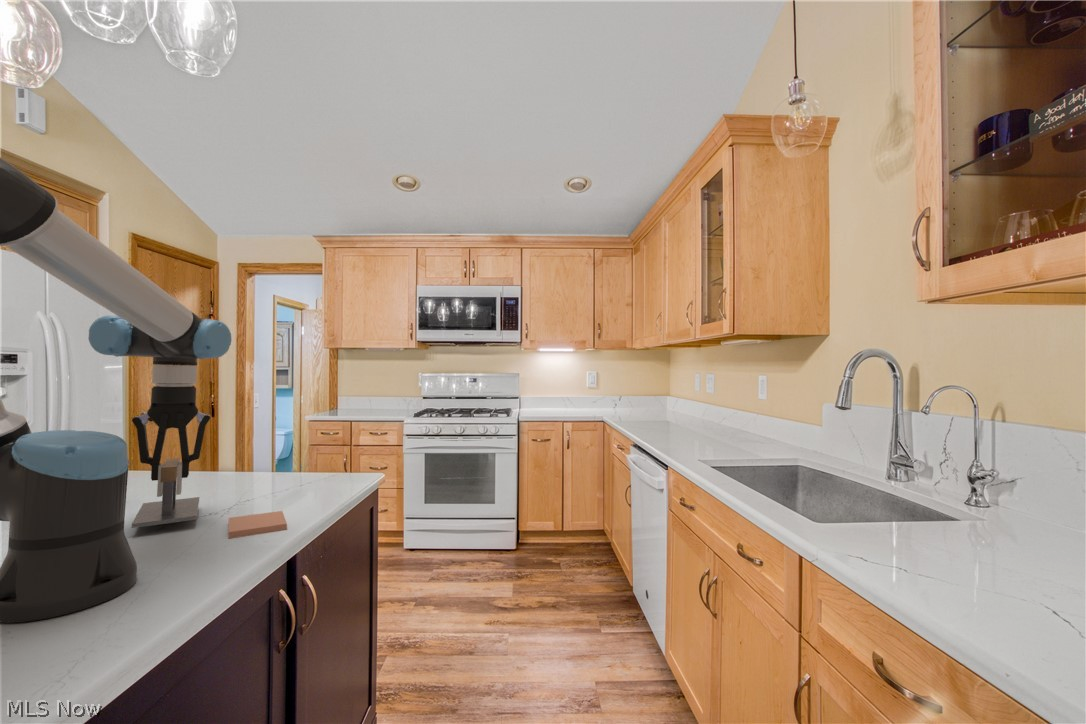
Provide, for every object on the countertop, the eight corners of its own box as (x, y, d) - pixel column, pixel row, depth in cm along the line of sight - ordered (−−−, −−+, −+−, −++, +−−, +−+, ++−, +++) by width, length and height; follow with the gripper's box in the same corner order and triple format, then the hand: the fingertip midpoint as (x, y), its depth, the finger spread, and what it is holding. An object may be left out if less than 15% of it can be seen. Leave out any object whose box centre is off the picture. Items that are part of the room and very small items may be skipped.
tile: (281, 518, 102) (286, 531, 94) (228, 525, 96) (228, 540, 88) (282, 510, 102) (286, 523, 94) (228, 517, 96) (228, 532, 88)
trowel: (196, 519, 93) (198, 467, 93) (131, 528, 87) (134, 472, 88) (199, 500, 106) (201, 454, 106) (143, 506, 100) (145, 458, 100)
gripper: (218, 384, 105) (214, 485, 104) (129, 384, 96) (123, 494, 95) (218, 386, 99) (213, 493, 98) (123, 385, 90) (117, 503, 89)
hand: (169, 493), depth 97 cm, fingers closed on trowel, 2 cm apart
